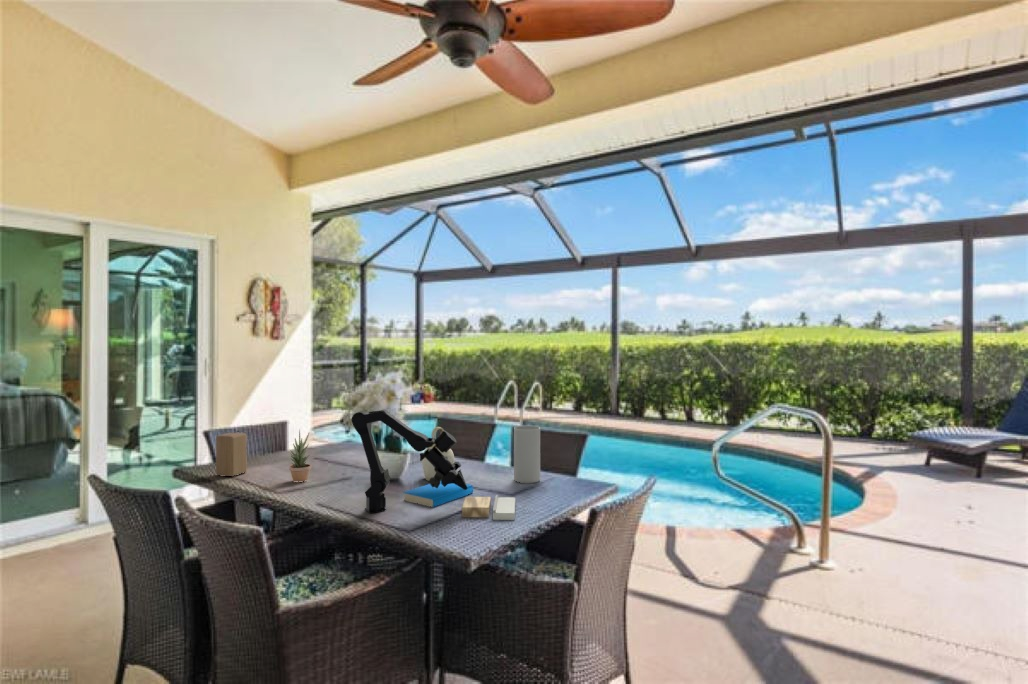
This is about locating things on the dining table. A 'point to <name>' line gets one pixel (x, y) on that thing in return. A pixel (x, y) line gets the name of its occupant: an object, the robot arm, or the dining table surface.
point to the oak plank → (476, 507)
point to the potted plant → (299, 462)
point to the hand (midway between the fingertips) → (466, 489)
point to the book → (436, 494)
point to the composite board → (504, 508)
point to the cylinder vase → (527, 454)
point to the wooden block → (231, 454)
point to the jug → (427, 466)
